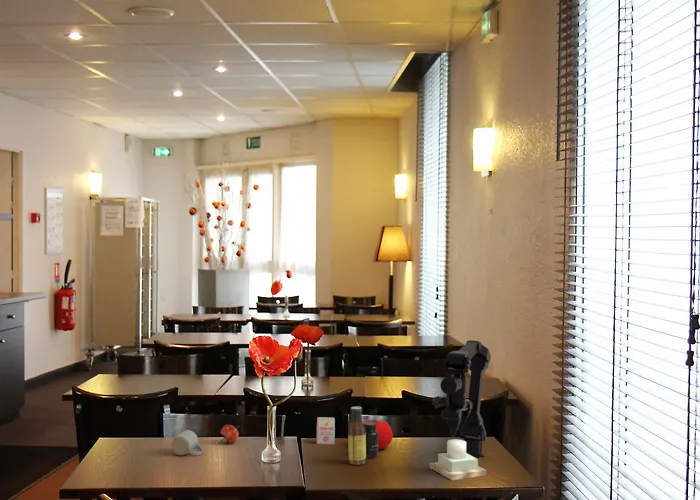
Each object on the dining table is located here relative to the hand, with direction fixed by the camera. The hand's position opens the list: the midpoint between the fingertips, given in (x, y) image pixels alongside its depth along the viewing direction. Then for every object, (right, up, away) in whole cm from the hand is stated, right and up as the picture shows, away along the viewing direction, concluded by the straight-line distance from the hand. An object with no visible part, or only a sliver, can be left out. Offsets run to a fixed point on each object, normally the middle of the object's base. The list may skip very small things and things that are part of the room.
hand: (456, 433), depth 275 cm
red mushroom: (-84, -11, +29) cm, 89 cm away
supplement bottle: (-30, -12, +15) cm, 36 cm away
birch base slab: (0, -14, -1) cm, 14 cm away
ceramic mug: (-96, -11, +14) cm, 98 cm away
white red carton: (-47, -11, +31) cm, 57 cm away
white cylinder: (0, -8, -1) cm, 8 cm away
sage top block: (0, -11, -1) cm, 11 cm away
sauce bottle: (-35, -12, +6) cm, 37 cm away
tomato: (-28, -12, +26) cm, 40 cm away
